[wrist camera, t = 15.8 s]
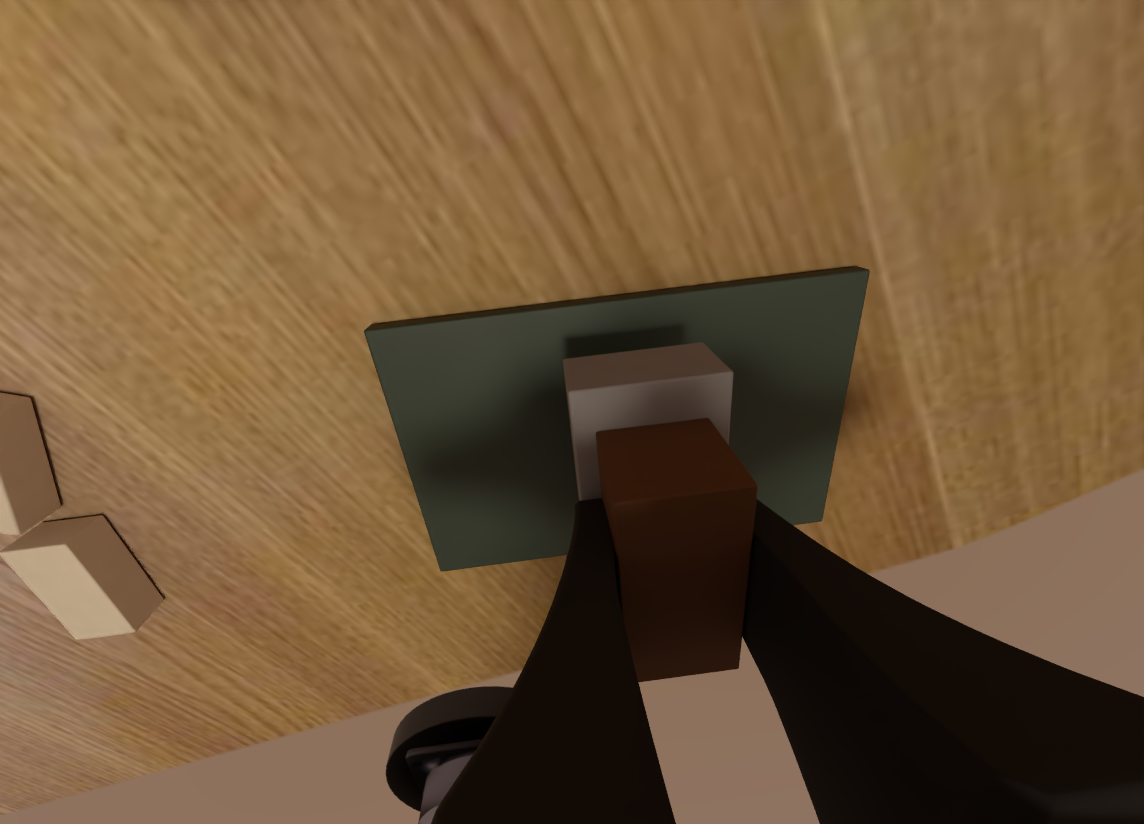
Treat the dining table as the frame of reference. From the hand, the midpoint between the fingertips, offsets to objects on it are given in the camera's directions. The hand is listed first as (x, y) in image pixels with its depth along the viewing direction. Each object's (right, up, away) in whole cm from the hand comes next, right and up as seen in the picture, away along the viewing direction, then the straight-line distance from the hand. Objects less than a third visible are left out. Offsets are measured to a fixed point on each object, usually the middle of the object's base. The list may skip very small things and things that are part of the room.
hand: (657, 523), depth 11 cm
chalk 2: (-18, -3, +5) cm, 19 cm away
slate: (0, +2, +4) cm, 5 cm away
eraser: (0, +1, +2) cm, 2 cm away
